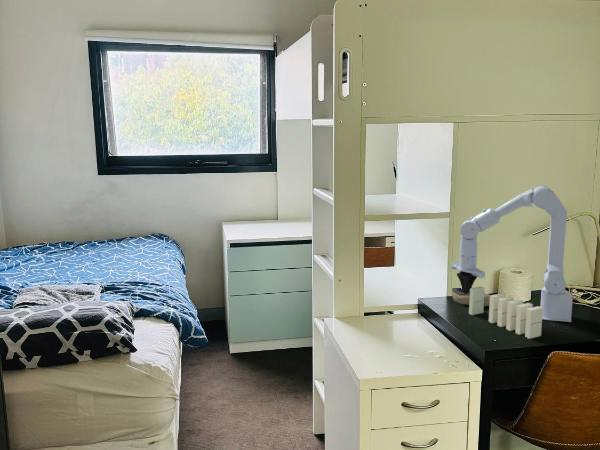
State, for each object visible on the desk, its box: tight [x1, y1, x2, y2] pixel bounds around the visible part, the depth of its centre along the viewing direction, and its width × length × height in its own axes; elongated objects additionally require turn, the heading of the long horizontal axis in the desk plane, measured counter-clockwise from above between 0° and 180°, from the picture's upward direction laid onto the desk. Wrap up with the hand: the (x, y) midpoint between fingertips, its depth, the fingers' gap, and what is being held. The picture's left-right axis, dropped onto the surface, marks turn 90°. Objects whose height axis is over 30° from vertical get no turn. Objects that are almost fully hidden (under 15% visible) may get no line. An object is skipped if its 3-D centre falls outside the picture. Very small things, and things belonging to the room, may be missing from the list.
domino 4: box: [505, 299, 524, 332], centre depth 173 cm, size 2×5×9 cm, turn 116°
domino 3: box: [496, 296, 515, 328], centre depth 177 cm, size 2×5×9 cm, turn 116°
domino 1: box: [468, 286, 485, 316], centre depth 188 cm, size 2×5×9 cm, turn 117°
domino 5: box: [515, 302, 534, 335], centre depth 170 cm, size 2×5×9 cm, turn 116°
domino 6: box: [524, 305, 543, 340], centre depth 167 cm, size 2×5×9 cm, turn 116°
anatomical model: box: [451, 287, 491, 307], centre depth 201 cm, size 12×16×5 cm
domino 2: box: [488, 293, 506, 324], centre depth 180 cm, size 2×5×9 cm, turn 117°
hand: (466, 293), depth 192 cm, fingers closed
